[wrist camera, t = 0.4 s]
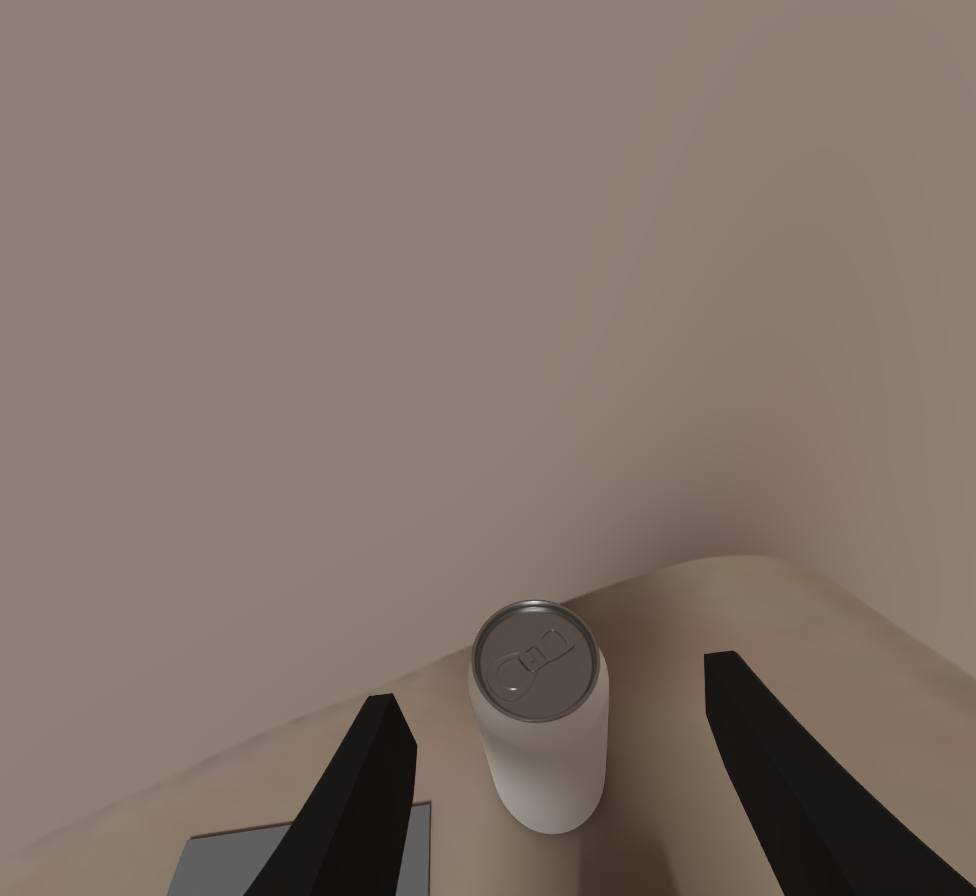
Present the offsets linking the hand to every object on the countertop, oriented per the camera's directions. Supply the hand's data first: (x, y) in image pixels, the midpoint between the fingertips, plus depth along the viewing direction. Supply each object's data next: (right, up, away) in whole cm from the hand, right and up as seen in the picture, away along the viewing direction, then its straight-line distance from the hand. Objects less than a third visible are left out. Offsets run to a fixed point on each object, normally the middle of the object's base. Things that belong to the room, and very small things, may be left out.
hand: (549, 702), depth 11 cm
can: (+2, -13, +16) cm, 21 cm away
